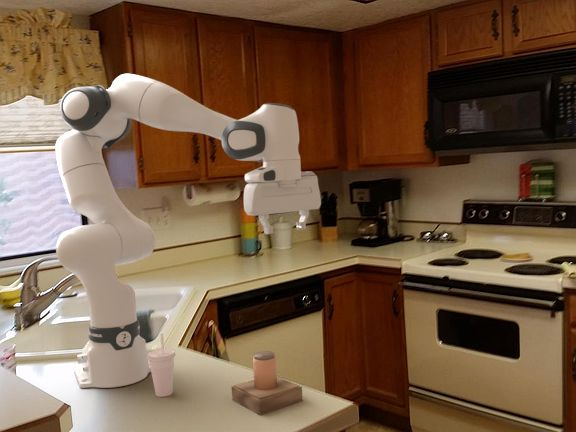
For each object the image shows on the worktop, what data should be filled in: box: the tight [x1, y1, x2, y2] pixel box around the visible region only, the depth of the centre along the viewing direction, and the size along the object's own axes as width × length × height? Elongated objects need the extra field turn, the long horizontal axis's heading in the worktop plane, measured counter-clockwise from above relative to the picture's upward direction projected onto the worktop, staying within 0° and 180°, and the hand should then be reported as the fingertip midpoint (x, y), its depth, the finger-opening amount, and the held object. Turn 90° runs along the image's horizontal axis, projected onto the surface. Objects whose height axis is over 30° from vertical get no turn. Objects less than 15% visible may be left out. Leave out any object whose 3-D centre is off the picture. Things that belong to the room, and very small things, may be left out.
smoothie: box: [147, 333, 177, 398], centre depth 139 cm, size 6×6×14 cm
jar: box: [252, 350, 278, 390], centre depth 132 cm, size 5×5×7 cm
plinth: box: [231, 376, 303, 416], centre depth 132 cm, size 11×11×3 cm
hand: (285, 231), depth 143 cm, fingers open, 8 cm apart
